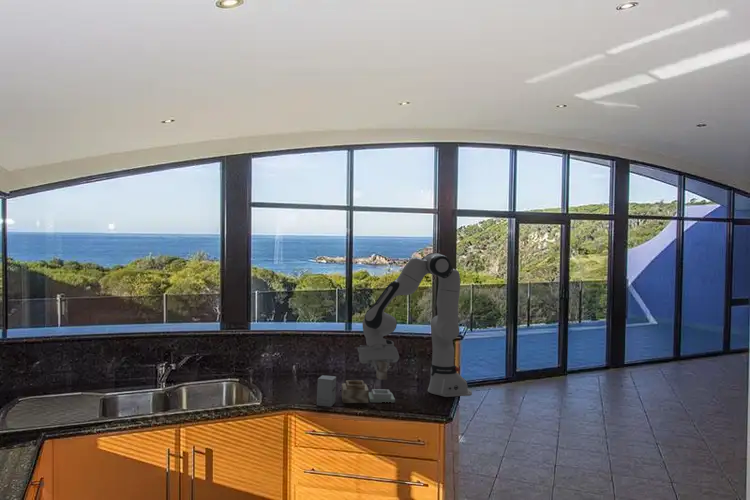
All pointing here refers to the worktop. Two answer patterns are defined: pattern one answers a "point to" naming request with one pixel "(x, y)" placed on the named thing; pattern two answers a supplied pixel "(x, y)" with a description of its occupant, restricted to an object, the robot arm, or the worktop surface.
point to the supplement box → (326, 390)
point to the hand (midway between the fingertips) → (382, 369)
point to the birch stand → (355, 392)
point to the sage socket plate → (381, 396)
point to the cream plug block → (382, 370)
